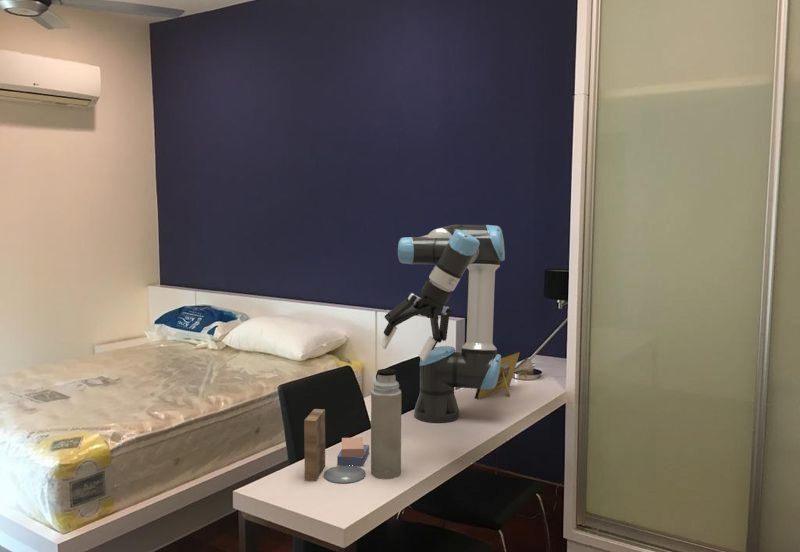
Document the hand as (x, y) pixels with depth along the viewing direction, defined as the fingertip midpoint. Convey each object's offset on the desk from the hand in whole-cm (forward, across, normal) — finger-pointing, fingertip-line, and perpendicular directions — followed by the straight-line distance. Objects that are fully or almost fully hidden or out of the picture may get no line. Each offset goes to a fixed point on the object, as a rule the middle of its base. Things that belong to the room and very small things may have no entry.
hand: (402, 352), depth 186 cm
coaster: (+33, -5, -11) cm, 36 cm away
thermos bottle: (+29, +4, -14) cm, 32 cm away
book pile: (+34, +2, -2) cm, 34 cm away
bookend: (+37, -11, -7) cm, 39 cm away
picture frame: (+17, +76, +33) cm, 85 cm away
